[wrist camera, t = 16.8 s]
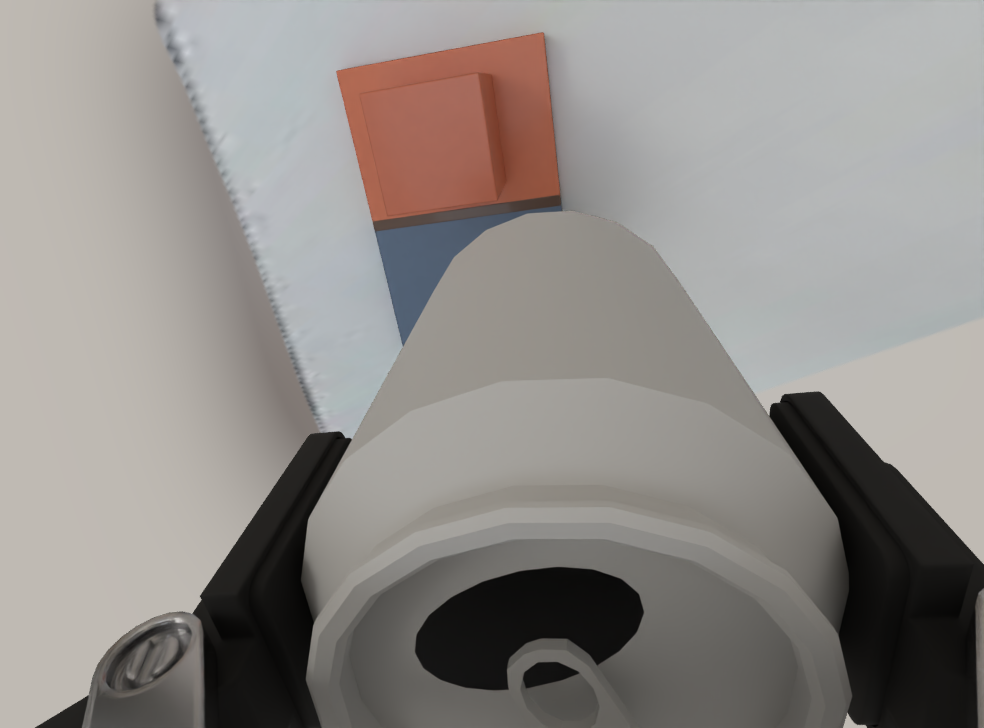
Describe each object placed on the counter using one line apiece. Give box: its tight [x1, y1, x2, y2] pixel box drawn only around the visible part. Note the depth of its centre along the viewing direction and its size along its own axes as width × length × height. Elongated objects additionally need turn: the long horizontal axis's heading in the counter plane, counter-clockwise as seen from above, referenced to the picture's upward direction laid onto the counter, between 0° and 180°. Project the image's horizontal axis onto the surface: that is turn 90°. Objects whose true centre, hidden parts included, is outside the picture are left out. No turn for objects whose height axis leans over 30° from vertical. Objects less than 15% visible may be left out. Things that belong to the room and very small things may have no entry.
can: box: [301, 211, 852, 728], centre depth 12 cm, size 8×8×12 cm
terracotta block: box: [359, 72, 506, 216], centre depth 26 cm, size 5×5×5 cm
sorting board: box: [336, 32, 562, 346], centre depth 30 cm, size 10×15×1 cm, turn 9°
